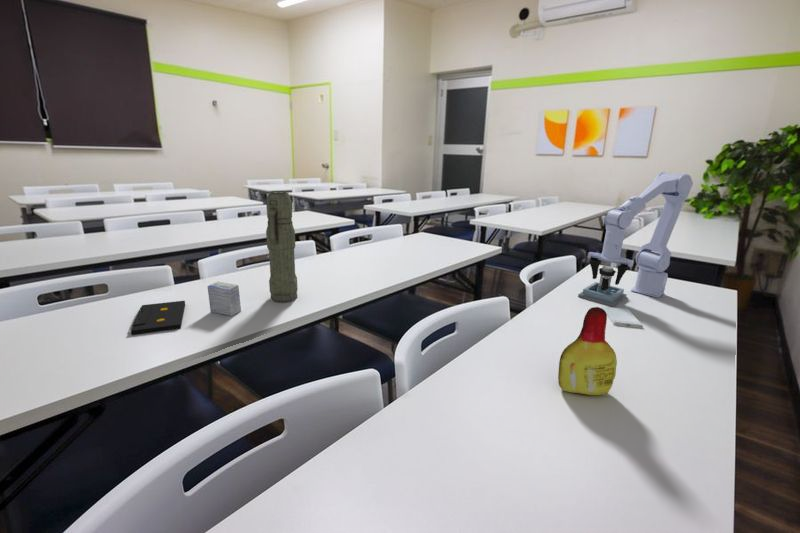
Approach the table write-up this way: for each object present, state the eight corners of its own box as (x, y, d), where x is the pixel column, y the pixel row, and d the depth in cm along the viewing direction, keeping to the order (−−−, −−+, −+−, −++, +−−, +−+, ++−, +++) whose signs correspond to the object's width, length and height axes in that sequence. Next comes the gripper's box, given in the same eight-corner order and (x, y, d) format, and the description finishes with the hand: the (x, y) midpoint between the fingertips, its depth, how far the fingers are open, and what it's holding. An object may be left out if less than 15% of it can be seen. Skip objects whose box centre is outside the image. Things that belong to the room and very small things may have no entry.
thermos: (264, 303, 128) (256, 193, 117) (276, 290, 139) (270, 189, 129) (292, 305, 128) (286, 195, 117) (302, 291, 139) (297, 190, 129)
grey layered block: (241, 311, 122) (239, 284, 119) (231, 316, 118) (228, 289, 115) (220, 307, 124) (218, 280, 122) (210, 312, 120) (206, 285, 118)
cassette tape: (142, 310, 121) (141, 304, 120) (185, 306, 126) (184, 299, 125) (131, 337, 105) (130, 329, 105) (181, 330, 110) (179, 323, 109)
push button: (611, 292, 147) (616, 266, 144) (617, 297, 142) (622, 270, 139) (592, 290, 148) (597, 264, 145) (597, 295, 143) (602, 269, 140)
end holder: (626, 297, 146) (628, 289, 145) (613, 306, 136) (615, 298, 135) (592, 288, 154) (593, 280, 153) (578, 296, 144) (579, 289, 143)
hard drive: (602, 306, 134) (614, 321, 122) (629, 308, 132) (643, 324, 121) (601, 310, 134) (613, 326, 123) (628, 313, 133) (642, 329, 121)
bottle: (558, 397, 86) (574, 312, 80) (550, 380, 92) (564, 300, 86) (615, 401, 85) (635, 315, 79) (603, 384, 91) (621, 303, 85)
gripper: (587, 242, 141) (580, 278, 145) (632, 250, 131) (623, 289, 136) (594, 239, 146) (588, 274, 150) (638, 247, 136) (630, 284, 140)
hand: (605, 281), depth 143 cm, fingers open, 7 cm apart
